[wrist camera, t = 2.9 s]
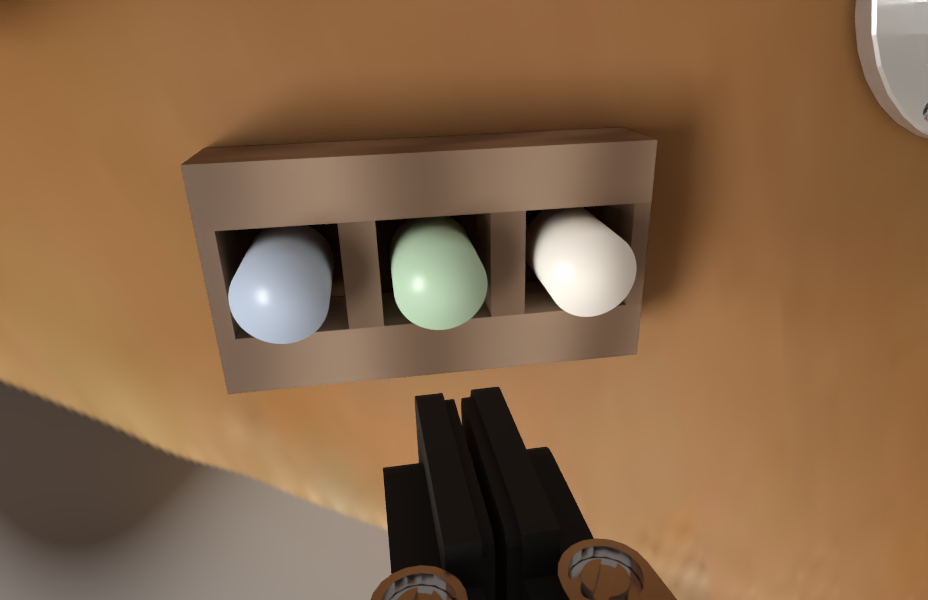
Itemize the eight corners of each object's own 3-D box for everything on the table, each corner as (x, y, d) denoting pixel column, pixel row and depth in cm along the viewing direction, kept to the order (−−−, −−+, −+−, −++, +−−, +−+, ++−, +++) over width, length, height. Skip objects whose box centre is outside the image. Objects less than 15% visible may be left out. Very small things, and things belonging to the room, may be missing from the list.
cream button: (602, 201, 23) (640, 228, 20) (597, 276, 24) (632, 312, 21) (523, 206, 23) (549, 234, 20) (522, 282, 24) (546, 320, 21)
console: (622, 126, 23) (657, 139, 20) (608, 320, 26) (636, 354, 24) (204, 147, 21) (180, 165, 19) (243, 353, 25) (228, 394, 22)
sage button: (469, 209, 23) (486, 238, 19) (471, 286, 24) (487, 325, 21) (386, 215, 22) (390, 245, 19) (392, 292, 23) (397, 333, 20)
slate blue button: (329, 219, 22) (323, 250, 19) (338, 297, 23) (334, 339, 20) (241, 224, 22) (219, 257, 18) (255, 303, 23) (237, 348, 20)
